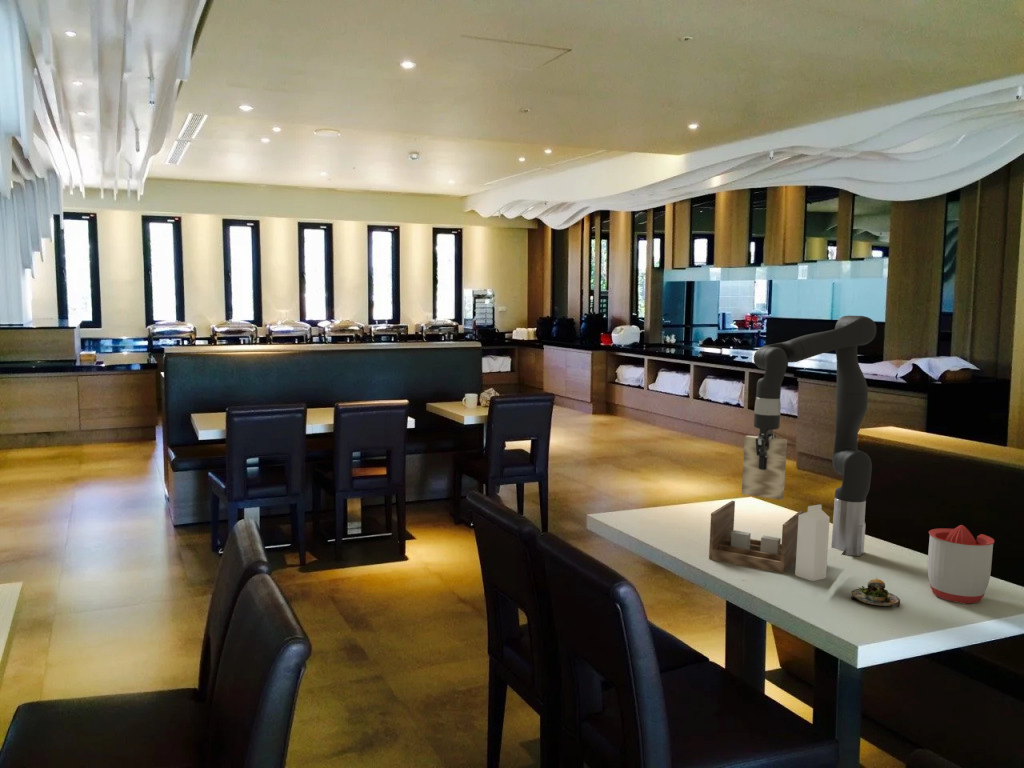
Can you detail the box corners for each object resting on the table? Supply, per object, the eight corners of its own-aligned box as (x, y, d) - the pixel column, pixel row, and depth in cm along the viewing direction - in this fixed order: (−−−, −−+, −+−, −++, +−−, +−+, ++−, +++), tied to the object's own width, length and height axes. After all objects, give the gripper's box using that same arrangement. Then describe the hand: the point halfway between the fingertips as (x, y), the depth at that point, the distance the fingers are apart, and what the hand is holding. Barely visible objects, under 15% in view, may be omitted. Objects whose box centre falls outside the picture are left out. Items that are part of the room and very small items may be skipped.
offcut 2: (779, 560, 245) (780, 538, 244) (776, 563, 242) (778, 540, 241) (762, 557, 247) (763, 535, 247) (759, 560, 245) (761, 537, 244)
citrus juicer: (999, 596, 223) (1005, 524, 221) (979, 612, 210) (985, 536, 209) (937, 581, 234) (943, 513, 232) (915, 595, 222) (920, 523, 220)
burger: (843, 601, 217) (845, 573, 216) (861, 591, 225) (863, 564, 224) (889, 614, 208) (891, 585, 208) (906, 603, 217) (909, 575, 216)
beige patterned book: (783, 498, 248) (787, 439, 246) (781, 499, 245) (784, 440, 244) (744, 492, 254) (747, 435, 253) (741, 494, 252) (744, 436, 250)
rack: (800, 560, 250) (803, 511, 249) (783, 578, 233) (786, 525, 232) (729, 547, 262) (731, 500, 260) (708, 563, 245) (711, 513, 244)
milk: (825, 583, 230) (831, 506, 228) (812, 586, 227) (817, 509, 225) (807, 576, 235) (812, 501, 233) (793, 579, 232) (799, 504, 230)
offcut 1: (749, 555, 249) (750, 533, 249) (746, 557, 247) (747, 535, 246) (733, 552, 252) (734, 530, 251) (730, 554, 250) (731, 532, 249)
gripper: (773, 416, 239) (770, 473, 241) (785, 411, 251) (782, 466, 253) (748, 413, 244) (744, 470, 245) (761, 409, 255) (758, 463, 257)
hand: (764, 468), depth 249 cm, fingers closed on beige patterned book, 3 cm apart
